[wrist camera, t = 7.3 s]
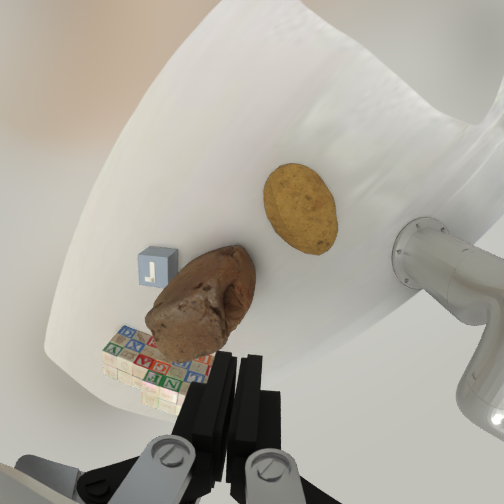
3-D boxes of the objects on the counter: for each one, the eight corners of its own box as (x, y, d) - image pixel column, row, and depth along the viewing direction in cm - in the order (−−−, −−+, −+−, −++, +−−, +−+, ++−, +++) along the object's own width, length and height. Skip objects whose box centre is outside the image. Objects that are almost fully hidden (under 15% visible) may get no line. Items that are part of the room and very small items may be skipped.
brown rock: (204, 300, 48) (166, 373, 28) (183, 261, 46) (129, 318, 27) (262, 275, 46) (255, 345, 27) (241, 233, 44) (219, 280, 25)
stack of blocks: (122, 348, 52) (95, 383, 40) (123, 324, 51) (93, 358, 39) (220, 382, 53) (209, 426, 41) (227, 359, 51) (216, 404, 39)
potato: (286, 277, 36) (356, 251, 34) (243, 179, 34) (315, 148, 31) (290, 257, 45) (345, 236, 43) (256, 179, 43) (312, 155, 40)
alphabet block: (177, 249, 46) (167, 258, 41) (177, 277, 47) (167, 289, 42) (150, 246, 46) (137, 254, 41) (151, 274, 47) (138, 285, 42)
